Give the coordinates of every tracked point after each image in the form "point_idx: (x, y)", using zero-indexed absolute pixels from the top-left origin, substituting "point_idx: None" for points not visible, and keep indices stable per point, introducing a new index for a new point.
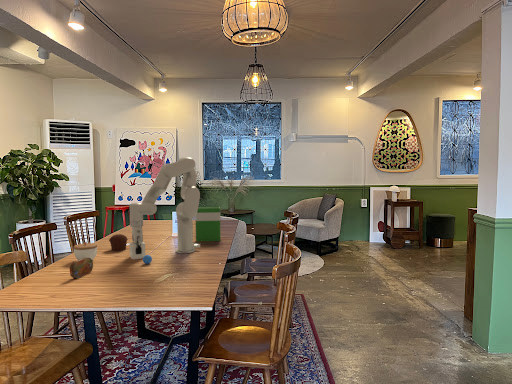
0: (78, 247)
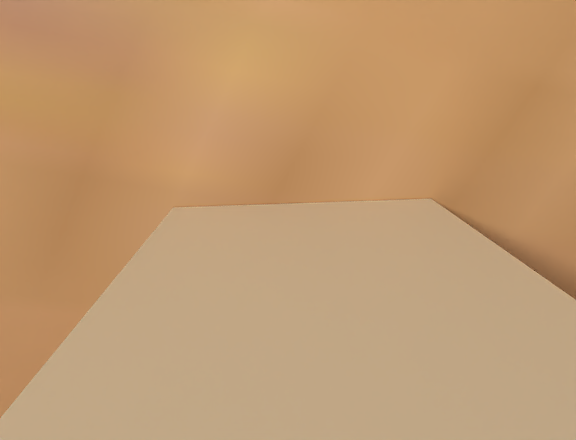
0: None
